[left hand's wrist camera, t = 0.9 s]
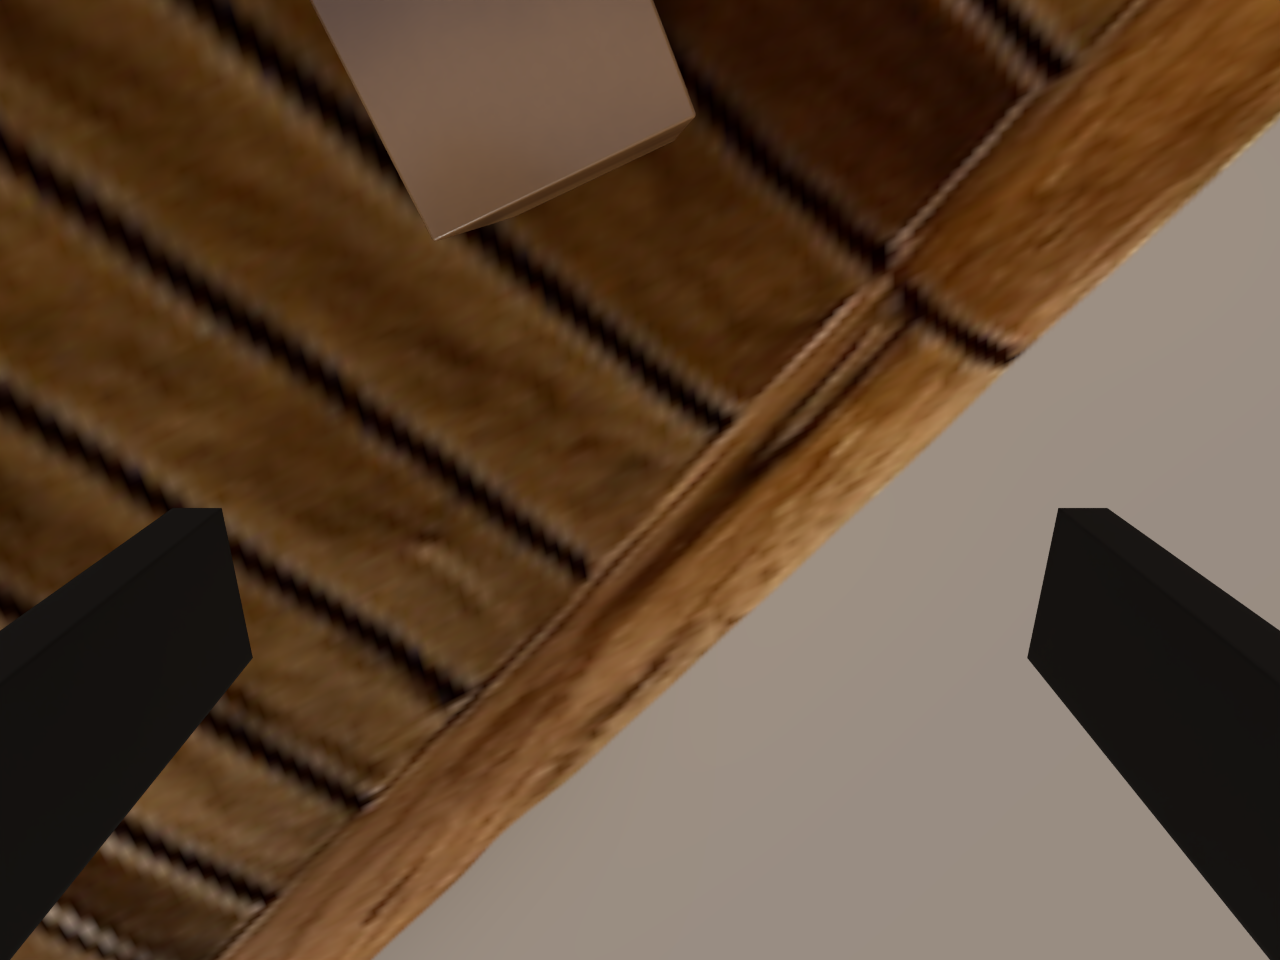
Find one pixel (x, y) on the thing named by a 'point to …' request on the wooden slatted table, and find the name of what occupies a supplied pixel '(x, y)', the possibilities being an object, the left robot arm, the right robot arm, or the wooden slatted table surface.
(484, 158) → the box
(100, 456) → the wooden slatted table surface
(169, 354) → the wooden slatted table surface
